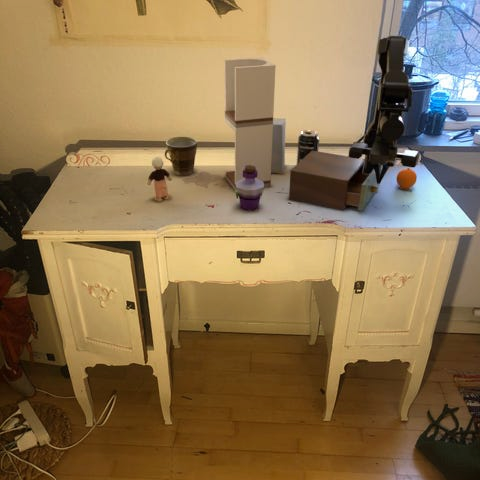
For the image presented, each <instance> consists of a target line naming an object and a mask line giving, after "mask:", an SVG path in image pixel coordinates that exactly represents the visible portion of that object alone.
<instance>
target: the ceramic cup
mask: <svg viewBox="0 0 480 480" xmlns="http://www.w3.org/2000/svg"><path fill="white" fill-rule="evenodd" d="M165 145H166V150H165V151H164V157H165V159H167V160H168V161H170V163H171V167H172V171H173V174H174V175H177V176H189V175H191V174H193V173H194V169H195V162H196V154H197V148H198V140H197V139H196V138H194V137H192V136H191V137H190V136H176V137H170V138H169V139H167V140H166V141H165ZM167 154H168V155H169V157H168V156H167Z"/></svg>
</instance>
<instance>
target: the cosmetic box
mask: <svg viewBox="0 0 480 480" xmlns="http://www.w3.org/2000/svg"><path fill="white" fill-rule="evenodd" d="M286 120H287V118H282V117H281V118H274V117H273V135H272V158H271V174H280V175H281V174H283V172H284V169H285V166H286Z"/></svg>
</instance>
